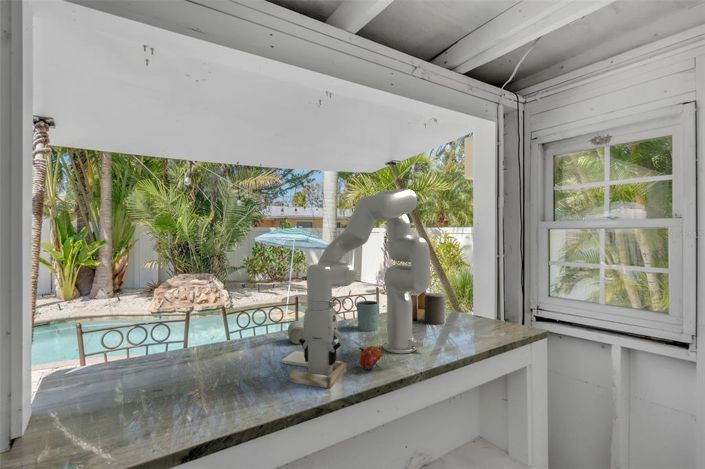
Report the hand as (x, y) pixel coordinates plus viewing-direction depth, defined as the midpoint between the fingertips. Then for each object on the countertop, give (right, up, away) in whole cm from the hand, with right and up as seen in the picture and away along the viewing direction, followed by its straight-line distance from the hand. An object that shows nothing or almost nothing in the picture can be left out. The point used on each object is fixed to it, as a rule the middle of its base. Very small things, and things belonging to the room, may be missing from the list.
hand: (320, 361), depth 114 cm
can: (0, -4, 0) cm, 4 cm away
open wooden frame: (0, -4, 0) cm, 4 cm away
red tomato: (+16, -5, +6) cm, 18 cm away
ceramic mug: (-11, -4, +35) cm, 37 cm away
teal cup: (+17, -4, +54) cm, 57 cm away
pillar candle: (+50, -4, +66) cm, 83 cm away
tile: (-8, -4, +14) cm, 17 cm away
